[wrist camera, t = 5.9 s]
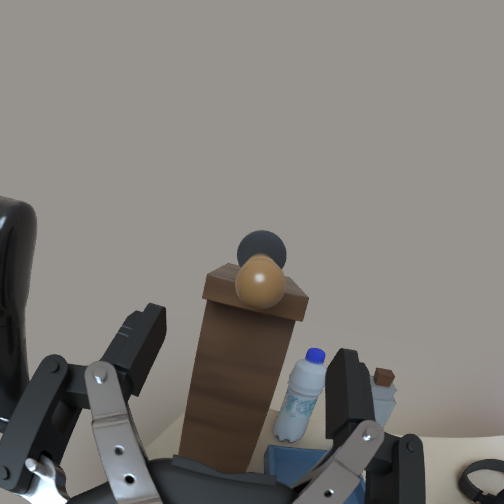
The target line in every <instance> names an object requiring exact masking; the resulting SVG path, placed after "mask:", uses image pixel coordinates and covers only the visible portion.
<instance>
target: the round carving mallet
mask: <svg viewBox="0 0 504 504" xmlns="http://www.w3.org/2000/svg"><path fill="white" fill-rule="evenodd" d="M237 259H238V263H239V266H240V268H241V269H240V270H239V271H238V273H237V276H236V280H235V288H236V292H237V295H238V297H239V298H240V300H241V301H242V302H243V303H244V304H245V305H247V306H248V307H251V308H254V309H268V308H270V307H272V306H274V305H276V304H277V303H278V302H279V301H280V300H281V298H282V297H283V295H284V293H285V288H286V280H285V276H284V273H283V271H282V268H283V267H284V265H285V262H286V248H285V246H284V243H283V242H282V240H281V239H280V238H279V237H278V236H277V235H275V234H274V233H272V232H269V231H264V230H260V231H255V232H252V233H250V234H248V235H247V236H246V237H245V238H244V239H243V240H242V241H241V243H240V245H239V247H238V251H237Z"/></svg>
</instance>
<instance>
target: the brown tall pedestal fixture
mask: <svg viewBox="0 0 504 504" xmlns="http://www.w3.org/2000/svg"><path fill="white" fill-rule="evenodd" d="M240 269H241V268H240V266H239V265H234V264H230V263H227V264H226V265H224V266H222V267H220V268H218V269H216V270H214V271H212V272H210V273H208V274H207V277H206V282H205V287H204V291H203V296H202V298H203V299H206V300H207V303H206V308H205V313H204V317H203V323H202V327H201V332H200V337H199V342H198V347H197V353H196V357H195V363H194V368H193V373H192V378H191V384H190V390H189V395H188V400H187V406H186V412H185V418H184V424H183V430H182V436H181V442H180V448H179V455H178V456H181V457H185V458H188V459H192V460H195V461H199V462H201V463H203V464H205V465H207V466H209V467H211V468H213V469H216V470H218V471H220V472H222V473H246V470H247V468H248V465H249V463H250V460H251V457H252V455H253V452H254V449H255V447H256V444H257V441H258V438H259V436H260V433H261V430H262V427H263V424H264V421H265V418H266V416H267V413H268V410H269V407H270V404H271V400H272V398H273V394H274V391H275V388H276V385H277V382H278V379H279V376H280V372H281V369H282V366H283V363H284V359H285V356H286V353H287V349H288V345H289V342H290V339H291V335H292V332H293V328H294V325H295V321H301V322H302V321H303V319H304V315H305V311H306V308H307V304H308V300H309V297H308V296H307V295H306V294H305V293H304V292H303V291H302V290H301V289H300V288H299V287H298V286H297V285H296V284H295V282H294V281H293V280H292V279H291V278H290V277H285V280H286V288H285V293H284V295H283V297H282V298H281V300H280V301H279V302H278V303H277V304H276V305H274V306H272V307H270V308H268V309H254V308H251V307H248V306H247V305H245V304H244V303H243V302H242V301H241V300H240V298H239V297H238V295H237V292H236V288H235V280H236V276H237V273H238V271H239V270H240Z"/></svg>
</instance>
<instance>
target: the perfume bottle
mask: <svg viewBox="0 0 504 504" xmlns="http://www.w3.org/2000/svg"><path fill="white" fill-rule="evenodd" d="M394 378H395V376H394V374H393V372H392V371H391V370H387V369H382V368H376V371H375V374H374V376H370V381H371V382H370V384H371V388H372V390H371V391H372V395H373V403H374V411H375V419H376V422H377V423H379V424H380V425H381V427H382V428H384V426H385V425H386V423H387V421H388V419H389V417H390V415H391V413H392V411H393V409H394V406H395V404H396V402H395V399H394V397H393V395H394V393H395V392H396V391H397V390H396V388H395V386H394V384H393V380H394Z"/></svg>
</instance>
